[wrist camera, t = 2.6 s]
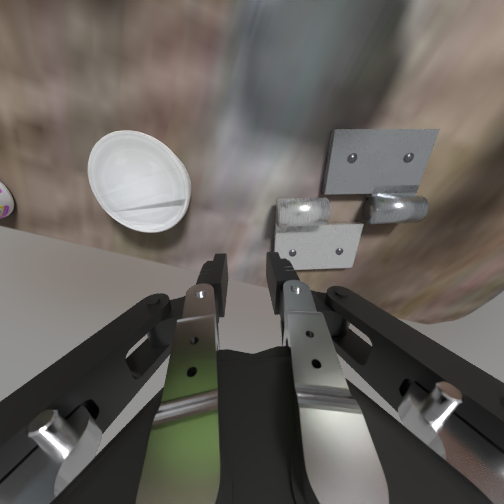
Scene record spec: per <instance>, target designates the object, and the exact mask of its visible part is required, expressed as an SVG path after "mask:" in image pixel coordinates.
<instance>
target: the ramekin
mask: <svg viewBox="0 0 504 504" xmlns="http://www.w3.org/2000/svg"><path fill="white" fill-rule="evenodd" d="M88 177H89V183H90V185H91V188H92V191H93V193H94V195H95V197H96V199H97V201H98V202H99V204H100V205H101V207H102V208H103V209H104V210H105V211H106V212H107V213H108V214H109V215H110V216H111V217H112V218H113V219H115V220H116V221H117V222H119V223H120V224H122V225H124V226H126V227H128V228H130V229H133V230H136V231H140V232H146V233H156V232H162V231H165V230H168V229H170V228H172V227H173V226H175V225H176V224H177V223H178V222H179V221H180V220H181V219H182V218H183V216H184V215H185V213H186V211H187V209H188V206H189V202H190V197H191V181H190V178H189V175H188V172H187V170H186V168H185V166H184V165H183V164H182V162H181V161H180V160H179V159H178V157H177V156H175V154H174V153H173V152H172V151H171V150H170V149H169V148H168V147H167V146H166V145H164V144H163V143H162V142H160V141H159V140H157V139H155V138H153V137H151V136H149V135H147V134H144V133H141V132H137V131H129V130H123V131H116V132H112V133H110V134H108V135H106V136H104V137H103V138H101V139H100V140H99V141H98V142H97V143H96V144H95V146H94V147H93V149H92V151H91V154H90V157H89V160H88Z"/></svg>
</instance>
